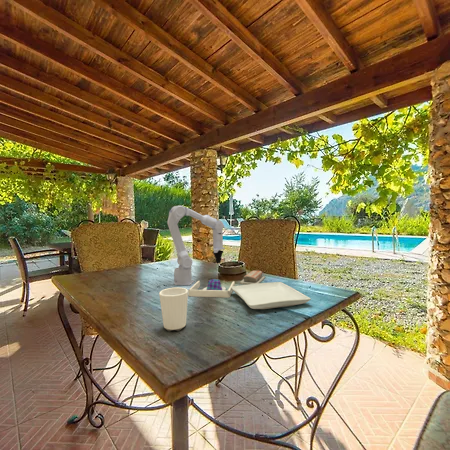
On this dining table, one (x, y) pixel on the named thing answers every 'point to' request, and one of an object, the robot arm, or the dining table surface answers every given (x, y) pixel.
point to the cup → (174, 308)
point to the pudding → (214, 285)
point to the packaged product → (253, 278)
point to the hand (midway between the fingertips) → (218, 263)
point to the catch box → (209, 291)
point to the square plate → (269, 295)
